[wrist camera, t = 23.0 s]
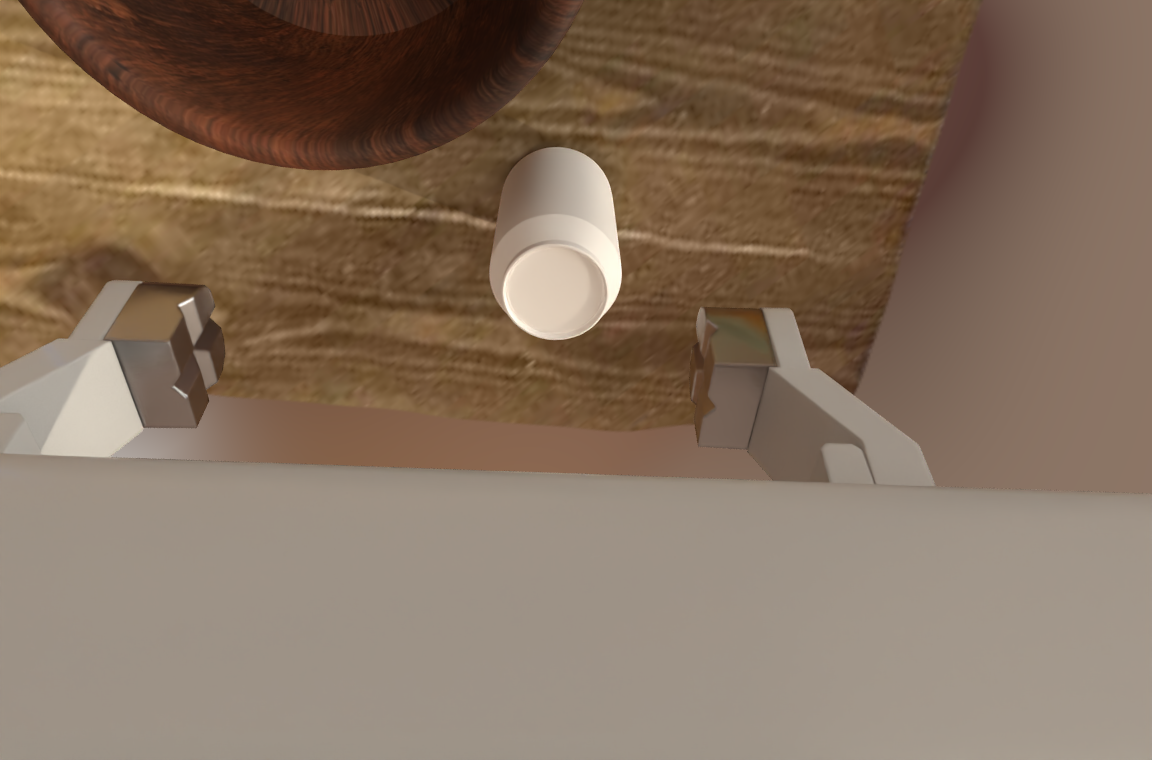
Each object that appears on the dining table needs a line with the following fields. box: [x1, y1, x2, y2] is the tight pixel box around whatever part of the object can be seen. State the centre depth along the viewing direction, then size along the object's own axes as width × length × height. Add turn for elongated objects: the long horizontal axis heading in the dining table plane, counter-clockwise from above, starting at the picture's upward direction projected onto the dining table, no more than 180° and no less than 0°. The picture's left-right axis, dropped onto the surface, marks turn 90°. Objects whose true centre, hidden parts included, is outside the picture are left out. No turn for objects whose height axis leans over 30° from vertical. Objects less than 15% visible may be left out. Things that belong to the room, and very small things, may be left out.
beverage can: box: [489, 147, 622, 340], centre depth 45 cm, size 6×6×12 cm
